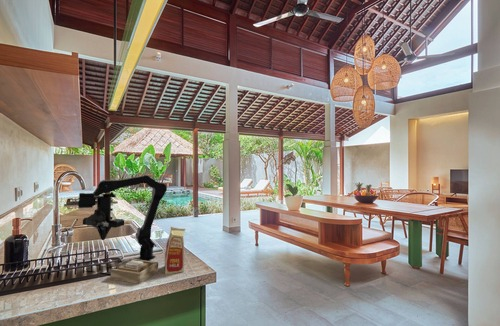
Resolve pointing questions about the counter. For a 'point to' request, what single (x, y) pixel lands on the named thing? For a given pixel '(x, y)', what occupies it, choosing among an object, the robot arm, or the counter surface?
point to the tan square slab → (132, 266)
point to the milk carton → (175, 251)
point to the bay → (135, 273)
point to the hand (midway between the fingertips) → (103, 239)
